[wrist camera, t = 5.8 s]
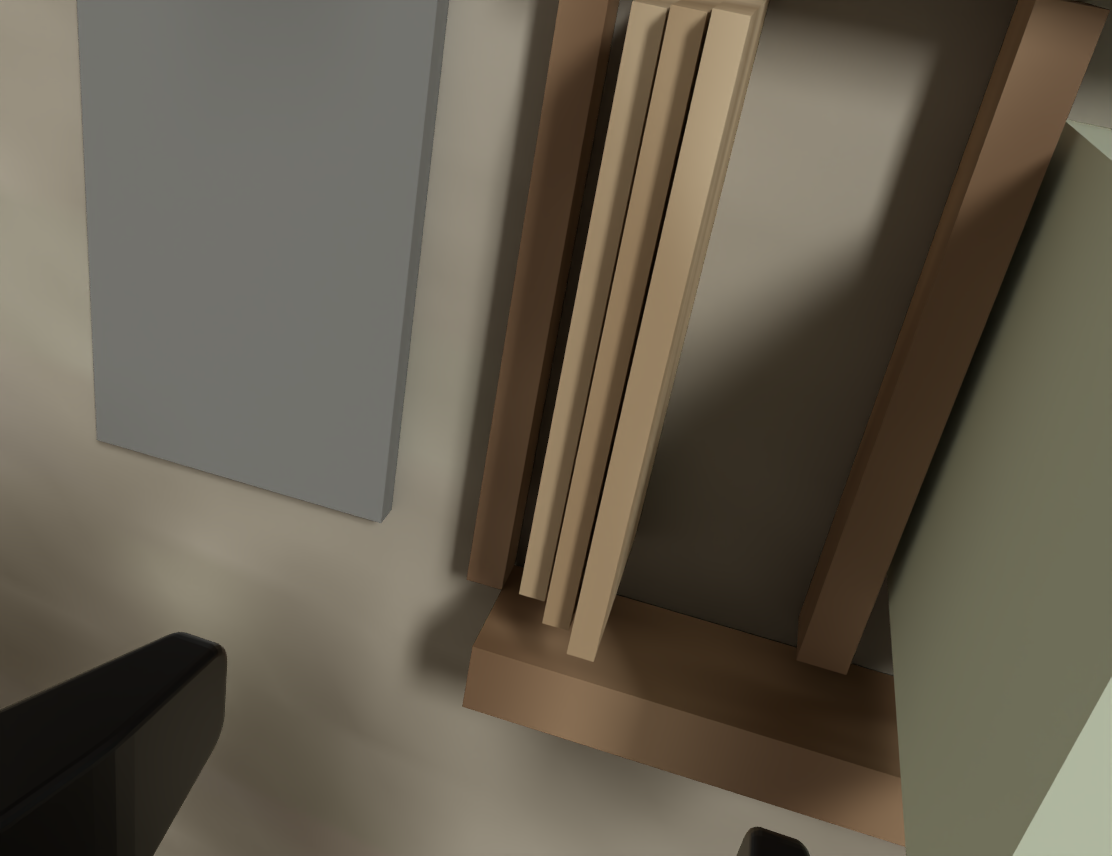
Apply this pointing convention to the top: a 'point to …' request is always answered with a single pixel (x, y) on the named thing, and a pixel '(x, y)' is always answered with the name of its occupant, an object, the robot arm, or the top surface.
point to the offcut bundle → (636, 296)
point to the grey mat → (258, 232)
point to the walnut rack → (865, 506)
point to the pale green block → (1019, 554)
